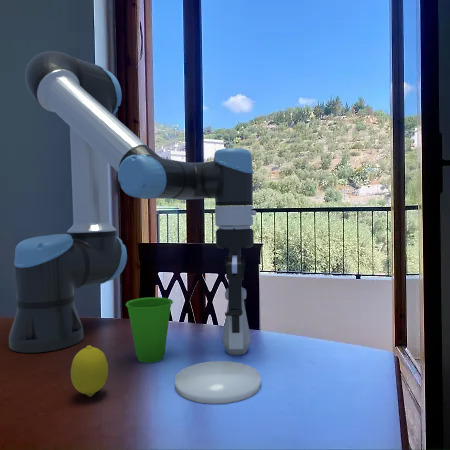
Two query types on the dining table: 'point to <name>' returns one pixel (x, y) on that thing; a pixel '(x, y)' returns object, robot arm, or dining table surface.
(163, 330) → the cup
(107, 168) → the robot arm
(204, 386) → the ceramic plate
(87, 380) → the lemon
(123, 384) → the dining table surface
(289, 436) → the dining table surface
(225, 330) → the salt shaker
